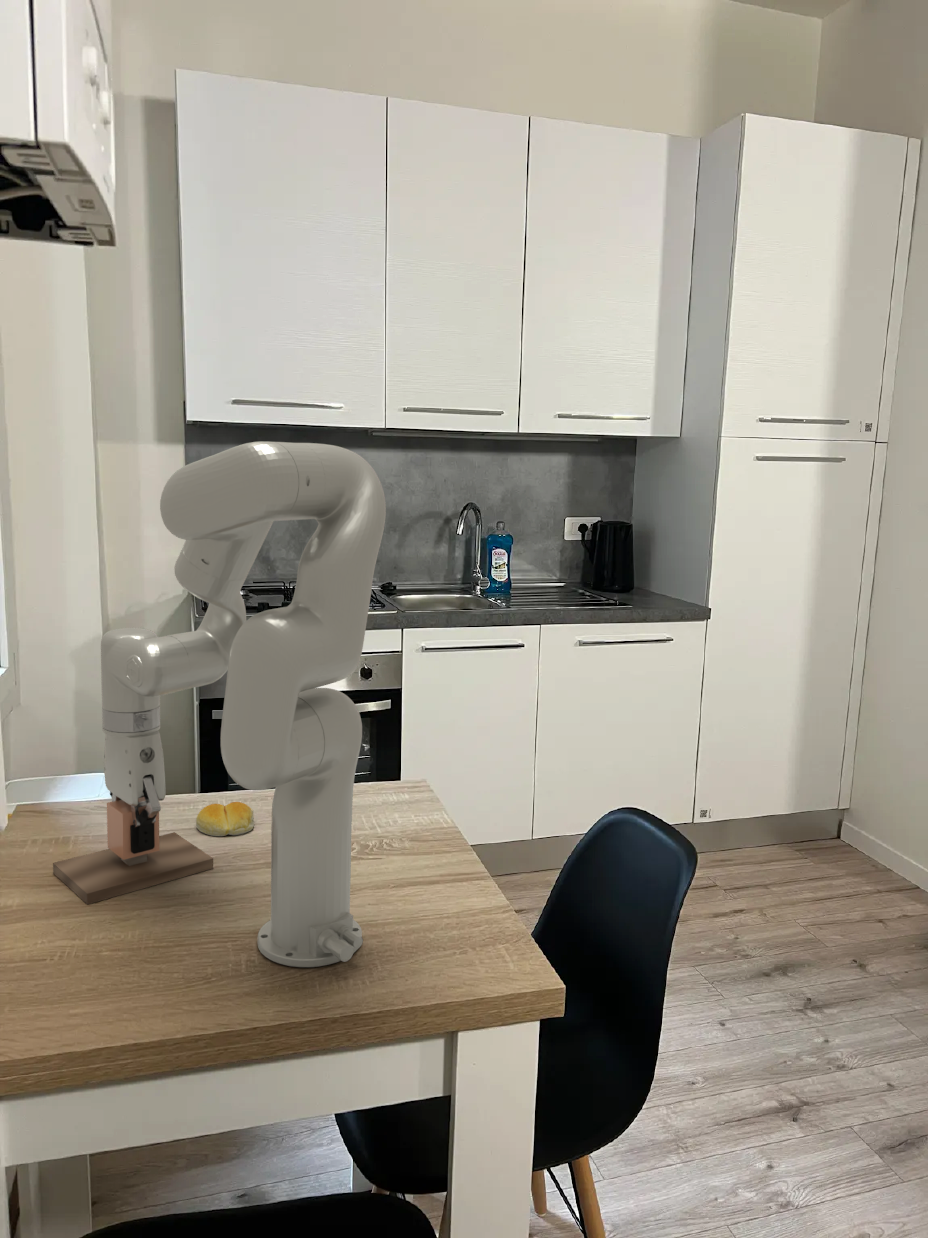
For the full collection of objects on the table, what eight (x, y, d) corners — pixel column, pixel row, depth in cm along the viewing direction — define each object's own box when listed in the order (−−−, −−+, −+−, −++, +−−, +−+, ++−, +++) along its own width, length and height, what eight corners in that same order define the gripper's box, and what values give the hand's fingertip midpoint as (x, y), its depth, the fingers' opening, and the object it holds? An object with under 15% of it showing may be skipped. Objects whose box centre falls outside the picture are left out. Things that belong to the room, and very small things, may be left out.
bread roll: (197, 820, 154) (197, 796, 153) (254, 817, 156) (254, 794, 155) (194, 840, 146) (194, 815, 145) (254, 837, 148) (254, 812, 147)
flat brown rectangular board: (213, 868, 136) (213, 821, 135) (87, 904, 124) (85, 853, 123) (174, 841, 144) (174, 797, 143) (53, 873, 132) (51, 825, 131)
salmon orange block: (159, 850, 133) (158, 805, 132) (123, 860, 130) (122, 814, 129) (143, 838, 137) (142, 795, 136) (107, 847, 134) (106, 802, 133)
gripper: (186, 729, 127) (187, 857, 130) (131, 701, 139) (133, 819, 142) (131, 738, 122) (133, 872, 125) (79, 709, 134) (82, 831, 137)
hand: (133, 842), depth 133 cm, fingers closed on salmon orange block, 5 cm apart
